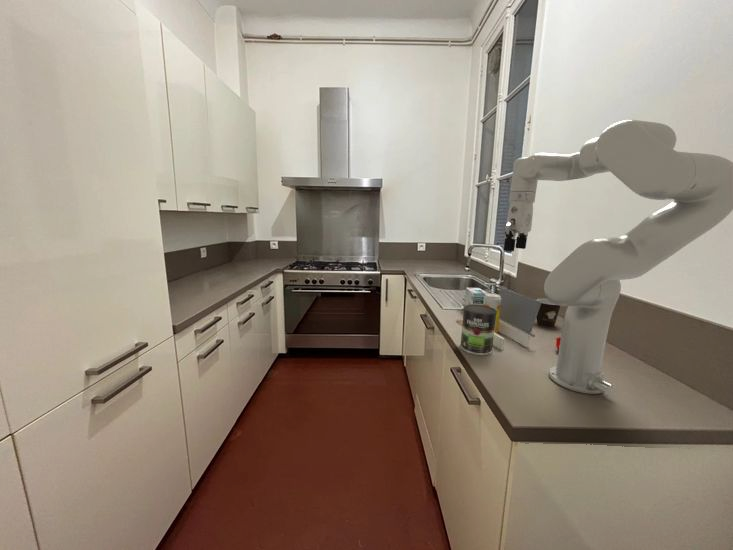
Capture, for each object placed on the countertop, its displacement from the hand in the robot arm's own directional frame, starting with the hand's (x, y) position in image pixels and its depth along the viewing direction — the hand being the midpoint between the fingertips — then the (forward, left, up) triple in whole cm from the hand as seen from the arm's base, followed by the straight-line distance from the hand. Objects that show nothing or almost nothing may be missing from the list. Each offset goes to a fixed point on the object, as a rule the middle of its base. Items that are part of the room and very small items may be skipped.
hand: (514, 249), depth 100 cm
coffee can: (-4, +14, -33) cm, 36 cm away
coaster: (+19, +3, -33) cm, 38 cm away
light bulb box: (+30, -8, -33) cm, 45 cm away
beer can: (+7, +1, -33) cm, 34 cm away
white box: (+3, +1, -33) cm, 33 cm away
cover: (+3, -5, -23) cm, 23 cm away
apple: (-13, -14, -33) cm, 38 cm away
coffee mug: (+11, -27, -33) cm, 44 cm away
